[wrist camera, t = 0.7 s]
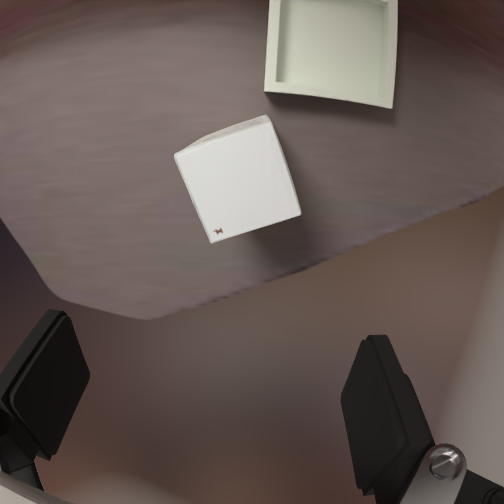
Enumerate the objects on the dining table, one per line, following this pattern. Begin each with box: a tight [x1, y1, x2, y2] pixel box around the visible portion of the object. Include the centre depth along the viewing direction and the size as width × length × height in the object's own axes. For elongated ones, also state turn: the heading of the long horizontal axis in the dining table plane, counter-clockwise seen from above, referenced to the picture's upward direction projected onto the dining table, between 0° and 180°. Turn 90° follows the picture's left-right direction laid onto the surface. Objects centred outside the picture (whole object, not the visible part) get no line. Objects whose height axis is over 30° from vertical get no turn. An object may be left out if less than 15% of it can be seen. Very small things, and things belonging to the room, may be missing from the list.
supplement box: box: [174, 115, 301, 244], centre depth 27 cm, size 7×7×13 cm
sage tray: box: [264, 0, 398, 109], centre depth 26 cm, size 13×13×2 cm
